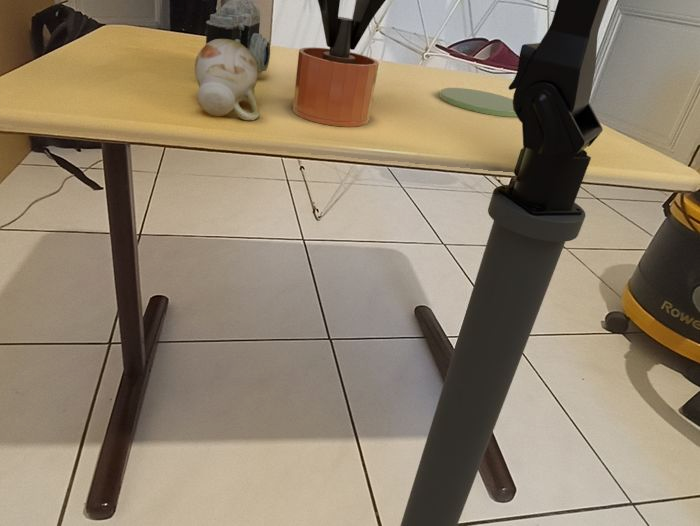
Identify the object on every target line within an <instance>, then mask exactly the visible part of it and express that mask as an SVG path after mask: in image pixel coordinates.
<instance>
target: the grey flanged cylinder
mask: <svg viewBox="0 0 700 526" xmlns="http://www.w3.org/2000/svg"><path fill="white" fill-rule="evenodd" d="M353 28H354V20H353V18H350V17H344V16H338V21H337V29H336V36H335V40H334V44H333V47H329V49H330V51H329V52H324V53H323V59H324V60H329V61H334V62H340V63H347V64H354V63H355V57H354V56H351V55H350V52H351V42H352V35H353Z"/></svg>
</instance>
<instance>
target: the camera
mask: <svg viewBox="0 0 700 526" xmlns="http://www.w3.org/2000/svg"><path fill="white" fill-rule="evenodd" d="M205 23H206V27H205V28H206V31H205V32H206V33H205V45H206V44H207V43H209V42H210V41H212V40H215V39H229V40H233V41H236V42H238V43H240V44H242V45H243V46H245V47H246V48H247V49H248V50H249V51H250V52H251V54H252V55H253V57H254V59H255V60H256V63H257V67H258V74H261V73H263V72H266V71H267V70H268V67H269V64H270V59H271V42H270V41H268V40H267V39H266V37H263V34H261V33H260V27H261V26H260V25H261V12H260V9H259V7H258V5H257V4H256V2H255V1H254V0H228V1H226V2H225V3H224V4H223V5H222V6H221V7H220V10H218V11H217V12H214V13H212V14H210V15H209V20H206V22H205Z"/></svg>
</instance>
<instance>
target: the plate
mask: <svg viewBox="0 0 700 526" xmlns="http://www.w3.org/2000/svg"><path fill="white" fill-rule="evenodd" d="M439 98H440V99H441V100H443V101H444V102H445V103H448V104H450V105H452V106H454V107H455V106H456V107H458V108H460V109H464V110H468V111H472V112H475V113H480V114H485V115H492V116H498V117H508V118H516V117H517V115H516V113H515V111H514V110H513V98H510V97H508V96H504V95H501V94H497V93H493V92H489V91H484V90H477V89H472V88H464V87H445V88H442V89H440V92H439ZM517 118H518V117H517Z"/></svg>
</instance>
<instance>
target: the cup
mask: <svg viewBox="0 0 700 526" xmlns="http://www.w3.org/2000/svg"><path fill="white" fill-rule="evenodd" d="M329 51H330V48H328V47H327V48H325V47H314V46H313V47H302V48H299V49H298V57H297V65H296V76H295V85H294V95H293V103H292V111H293V113H294V114H295V115H297V116H298V117H300V118H301V119H304V120H308V121H309V122H312V123H318V124H322V125H327V126H334V127H342V128H343V127H347V128H348V127H349V128H350V127H353V128H354V127H361V126H365V125H367V124H368V123H369V122H370V121H369V120H370V117H371V112H372V106H373V105H372V104H373V99H374V94H375V88H376V82H377V77H378V70H379V65H380V63H379V61H378V60H376V59H374V58H372V57H370V56H367V55H363V54H360V53H357V52H352V51H350V55H351V56H354V57H355V63H354V64H347V63H340V62H334V61H329V60H324V59H323V53H324V52H329Z"/></svg>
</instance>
